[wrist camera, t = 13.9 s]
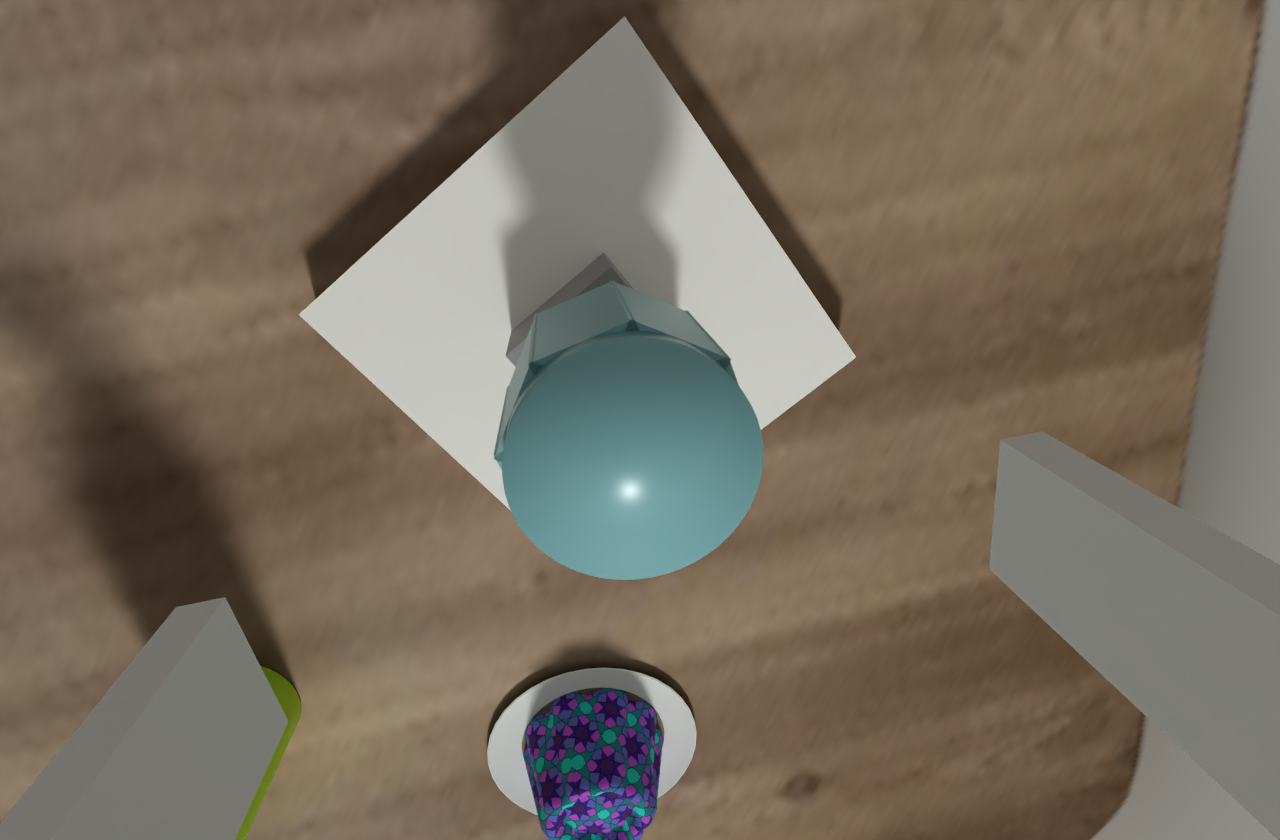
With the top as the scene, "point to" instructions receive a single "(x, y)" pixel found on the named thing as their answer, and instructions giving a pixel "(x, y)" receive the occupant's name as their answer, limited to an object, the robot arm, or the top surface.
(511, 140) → the post base
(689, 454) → the cap
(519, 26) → the top surface
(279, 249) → the top surface
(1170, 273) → the top surface
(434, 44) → the top surface
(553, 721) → the patterned brimmed hat
